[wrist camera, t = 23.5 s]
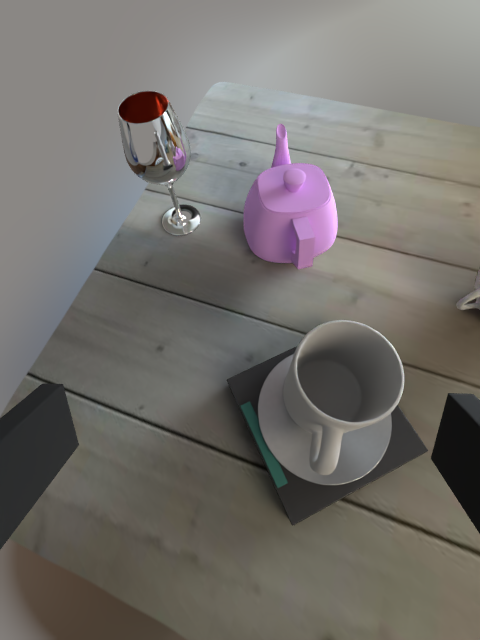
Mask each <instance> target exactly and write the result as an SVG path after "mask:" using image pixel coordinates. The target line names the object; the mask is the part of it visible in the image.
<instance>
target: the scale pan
mask: <svg viewBox="0 0 480 640" xmlns="http://www.w3.org/2000/svg"><path fill="white" fill-rule="evenodd" d="M293 356H294V354H293V355H291V356H289V357H287V358H285V359H284V360H282V361H281V362H280V363H278V364H277V365H276V366H275V367H274V368H273V370H272V371H271V372H270V373H269V375H268V376H267V378H266V380H265V382H264V384H263V386H262V389H261V392H260V396H259V402H258V419H259V426H260V429H261V433H262V436H263V438H264V441H265V443H266V445H267V447H268V448H269V450H270V451H271V453H272V454H273V456H274V457H275V458H276V459H277V460H278V461H279V463H280V464H281V465H283V466H284V467H285V468H286V469H287V470H288V471H290V472H291V473H293V474H295V475H296V476H298V477H300V478H302V479H304V480H307V481H310V482H313V483H316V484H322V485H341V484H346V483H350V482H353V481H355V480H357V479H360V478H362V477H363V476H365V475H366V474H368V473H369V472H370V471H371V470H372V469H373V468H375V467H376V465H377V464H378V463H379V462H380V460H381V459H382V457H383V455H384V454H385V452H386V449H387V447H388V444H389V441H390V436H391V428H392V420H391V413H390V414H389V415H388V416H386V417H385V418H384V419H382V420H381V421H379V422H377V423H375V424H372V425H369V426H366V427H363V428H360V429H356V430H352V431H349V432H346V433H343V436H342V441H341V448H340V454H339V459H338V462H337V465H336V468H335V470H334V471H333V472H332V473H331V474H329V475H320V474H318V473H316V472H314V471H313V470H312V469H311V467H310V463H309V456H310V447H311V441H312V433H309V432H307V431H305V430H304V429H302V428H301V427H300V426H299V425H298V424H296V423H295V421H294V420H293V419H292V418H291V416H290V415H289V413H288V411H287V409H286V406H285V403H284V397H283V388H284V382H285V379H286V376H287V374H288V371H289V368H290V365H291V362H292V359H293Z"/></svg>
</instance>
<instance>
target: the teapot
mask: <svg viewBox="0 0 480 640" xmlns="http://www.w3.org/2000/svg"><path fill="white" fill-rule="evenodd" d="M337 226H338V221H337V210H336V205H335V201H334V197H333V194H332V191H331V188H330V185H329V183H328V180H327V178H326V176H325V174H324V172H323V171H322V170H321V169H320V168H319V167H317V166H315V165H312V164H305V163H293V164H291V162H290V157H289V151H288V144H287V133H286V129H285V127H284V125H283V124H279V125H278V126H277V130H276V150H275V155H274V159H273V163H272V167H271V168H270V169H268V170H266V171H264V172H262V173H261V174H260V175H259V176H258V177H257V179H256V180H255V182H254V184H253V185H252V187H251V189H250V191H249V193H248V196H247V199H246V202H245V207H244V232H245V236H246V239H247V242H248V244H249V247H250V249H251V250H252V252H253V253H254V254H255V255H256V256H258V257H259V258H261V259H263V260H266V261H269V262H276V263H293V264H294V265H295V266H296V267H297V268H298V269H301V268H306V267H312V264H313V257H316V256H318V255H320V254H322V253H323V252H325V251H326V250H328V249H329V248H330V247H331V246H332V244H333V243H334V241H335V238H336V234H337Z"/></svg>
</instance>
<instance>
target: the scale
mask: <svg viewBox="0 0 480 640" xmlns="http://www.w3.org/2000/svg"><path fill="white" fill-rule="evenodd" d="M296 348H297V347H294V348H292V349H290V350H288V351H286V352H284V353H282V354H280V355H278V356H275V357H273V358H271V359H269V360H267V361H265V362H263V363H261V364H259V365H256V366H254V367H252V368H250V369H248V370H246V371H244V372H242V373H240V374H237V375H235V376H233V377H231V378H229V379H227V382H228V384H229V386H230V389H231V391H232V393H233V395H234V398H235V400H236V402H237V404H238V406H239V409H240V411H241V413H242V415H243V417H244V420H245V422H246V424H247V426H248V429H249V431H250V433H251V435H252V437H253V440H254V442H255V444H256V446H257V448H258V451H259V453H260V455H261V457H262V460H263V462H264V464H265V466H266V468H267V471H268V473H269V475H270V477H271V480H272V482H273V484H274V486H275V488H276V491H277V493H278V495H279V497H280V499H281V502H282V504H283V506H284V508H285V511H286V513H287V515H288V517H289V519H290V522H291V524H292V525H295V524H297V523H298V522H300V521H302V520H304V519H306V518H307V517H309V516H311V515H313V514H315V513H317V512H318V511H320V510H322V509H324V508H326V507H327V506H329V505H331V504H333V503H335V502H336V501H338V500H340V499H342V498H344V497H346V496H347V495H349V494H351V493H353V492H355V491H356V490H358V489H360V488H362V487H364V486H366V485H367V484H369V483H371V482H373V481H375V480H376V479H378V478H380V477H382V476H384V475H385V474H387V473H389V472H391V471H393V470H395V469H396V468H398V467H400V466H402V465H404V464H405V463H407V462H409V461H411V460H413V459H415V458H416V457H418V456H420V455H422V454H424V453H425V452H427V451H428V450H427V448H426V447H425V445H424V444H423V442H422V441H421V439H420V438H419V436H418V435H417V433H416V432H415V430H414V429H413V427H412V426H411V424H410V423H409V421H408V420H407V418H406V417H405V415H404V414H403V412H402V411H401V409H400V408H399V406H398V405H397V406H396V407H395V409H394V410H393V411H392V412H391V420H392V428H391V436H390V441H389V444H388V447H387V449H386V452H385V454H384V455H383V457H382V459H381V460H380V462H379V463H378V464H377V465H376V467H375V468H373V469H372V470H371V471H370V472H369V473H368V474H366V475H365V476H363V477H362V478H360V479H357V480H355V481H353V482H350V483H346V484H341V485H322V484H316V483H313V482H310V481H307V480H304V479H302V478H300V477H298V476H296V475H295V474H293V473H291V472H290V471H288V470H287V469H286V468H285V467H284V466H283V465H281V464H280V463H279V461H278V460H277V459H276V458H275V457H274V456H273V454H272V453H271V451H270V450H269V448H268V447H267V445H266V443H265V441H264V438H263V436H262V433H261V429H260V426H259V419H258V402H259V396H260V392H261V389H262V386H263V384H264V382H265V380H266V378H267V376H268V375H269V373H270V372H271V371H272V370H273V368H274V367H275V366H276V365H277V364H278V363H280V362H281V361H282V360H284V359H285V358H287V357H289V356H291V355H293V354H294V353H295V351H296Z"/></svg>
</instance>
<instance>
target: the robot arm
mask: <svg viewBox="0 0 480 640" xmlns="http://www.w3.org/2000/svg"><path fill="white" fill-rule="evenodd" d="M78 445H79V443H78V440H77V436H76V432H75V428H74V424H73V421H72V417H71V413H70V409H69V405H68V402H67V398H66V394H65V390H64V386H63V384H41V385H40V386H39V387H38V388H37V389H35V390H34V391H33V392H32V393H31V394H29V395H28V396H27V397H26V398H25V399H23V400H22V401H21V402H20V403H19V404H17V405H16V406H15V407H14V408H13V409H11V410H10V411H9V412H8V413H6V414H5V415H4V416H3V417H2V418H0V549H1V548H2V547H3V545H4V544H5V543H6V541H7V540H8V539H9V537H10V536H11V535H12V533H13V532H14V531H15V529H16V528H17V527H18V525H19V524H20V523H21V521H22V520H23V519H24V517H25V516H26V515H27V513H28V512H29V511H30V509H31V508H32V507H33V505H34V504H35V503H36V501H37V500H38V499H39V497H40V496H41V495H42V493H43V492H44V491H45V489H46V488H47V487H48V485H49V484H50V483H51V481H52V480H53V479H54V477H55V476H56V475H57V473H58V472H59V471H60V469H61V468H62V467H63V465H64V464H65V463H66V461H67V460H68V459H69V457H70V456H71V455H72V453H73V452H74V451H75V449H76V448H77V447H78ZM431 459H432V461H433V463H434V464H435V466H436V467H437V469H438V470H439V472H440V473H441V475H442V476H443V478H444V479H445V481H446V483H447V484H448V486H449V487H450V489H451V490H452V492H453V493H454V495H455V496H456V498H457V499H458V501H459V503H460V504H461V506H462V507H463V509H464V510H465V512H466V513H467V515H468V516H469V518H470V519H471V521H472V523H473V524H474V526H475V527H476V529H477V530H478V532H479V533H480V400H479V399H478V398H477V397H476V396H475V395H474V394H457V393H448V396H447V400H446V404H445V407H444V411H443V415H442V419H441V422H440V426H439V430H438V434H437V437H436V441H435V445H434V449H433V452H432V456H431Z"/></svg>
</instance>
